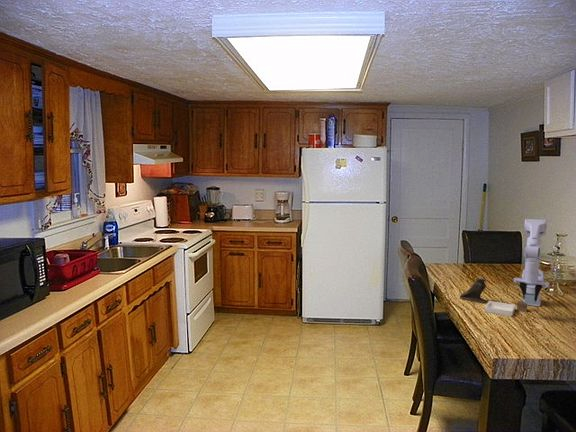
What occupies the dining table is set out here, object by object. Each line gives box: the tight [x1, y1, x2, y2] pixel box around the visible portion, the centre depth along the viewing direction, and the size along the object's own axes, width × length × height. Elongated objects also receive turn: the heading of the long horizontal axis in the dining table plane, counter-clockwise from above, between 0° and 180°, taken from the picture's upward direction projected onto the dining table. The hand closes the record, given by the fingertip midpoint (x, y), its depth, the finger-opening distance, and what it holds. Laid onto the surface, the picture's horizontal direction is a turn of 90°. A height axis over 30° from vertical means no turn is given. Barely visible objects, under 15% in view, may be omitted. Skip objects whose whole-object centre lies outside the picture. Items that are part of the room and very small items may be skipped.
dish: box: [484, 300, 516, 317], centre depth 218 cm, size 12×12×2 cm
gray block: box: [524, 293, 536, 306], centre depth 208 cm, size 4×4×4 cm
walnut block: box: [516, 300, 528, 313], centre depth 219 cm, size 4×4×4 cm
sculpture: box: [459, 277, 487, 305], centre depth 235 cm, size 6×13×13 cm, turn 44°
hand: (530, 299), depth 209 cm, fingers closed on gray block, 4 cm apart
